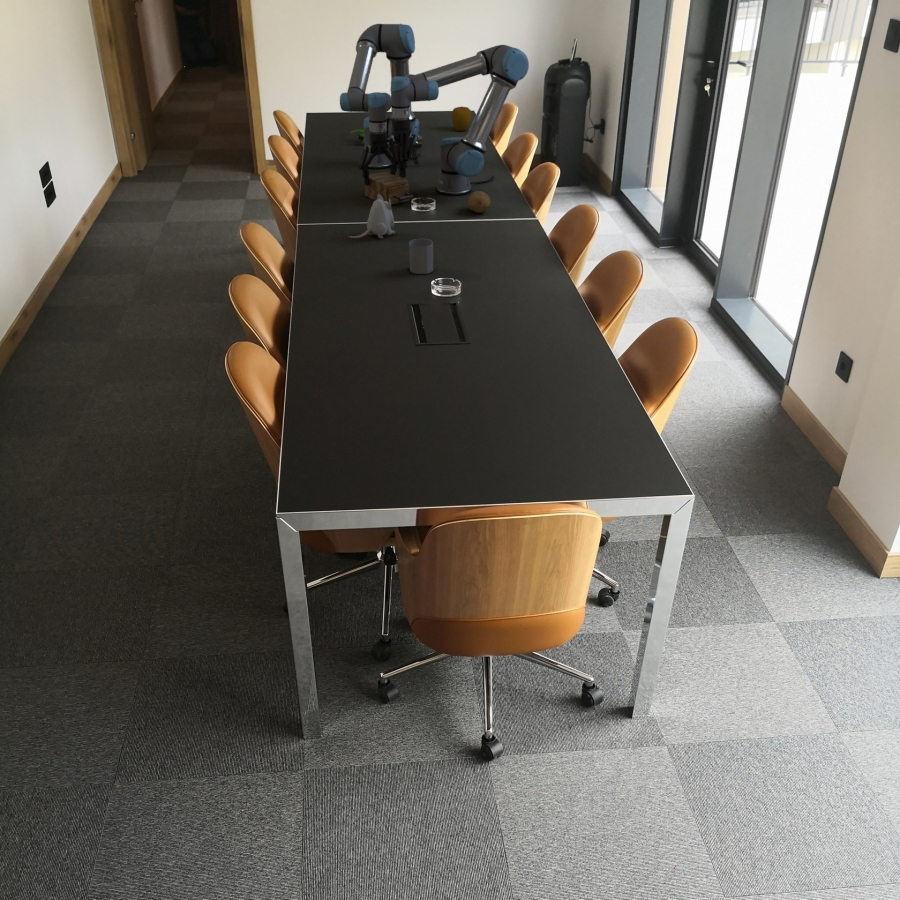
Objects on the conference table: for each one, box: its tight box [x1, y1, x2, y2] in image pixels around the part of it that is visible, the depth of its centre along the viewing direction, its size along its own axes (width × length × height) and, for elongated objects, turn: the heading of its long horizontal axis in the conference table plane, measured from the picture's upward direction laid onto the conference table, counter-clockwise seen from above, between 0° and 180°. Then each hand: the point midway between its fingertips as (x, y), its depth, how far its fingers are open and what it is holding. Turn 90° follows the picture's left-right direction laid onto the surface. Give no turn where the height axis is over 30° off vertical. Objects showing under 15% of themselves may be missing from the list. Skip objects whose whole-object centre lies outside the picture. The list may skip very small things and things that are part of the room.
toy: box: [347, 194, 396, 240], centre depth 332 cm, size 9×24×15 cm, turn 137°
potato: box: [467, 190, 491, 214], centre depth 363 cm, size 10×14×8 cm
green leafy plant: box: [348, 128, 365, 146], centre depth 466 cm, size 6×13×30 cm
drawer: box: [388, 183, 414, 205], centre depth 375 cm, size 22×10×7 cm, turn 36°
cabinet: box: [364, 171, 409, 206], centre depth 378 cm, size 18×11×9 cm, turn 36°
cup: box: [408, 237, 434, 275], centre depth 305 cm, size 8×8×10 cm
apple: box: [451, 105, 472, 132], centre depth 487 cm, size 11×11×13 cm
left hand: (380, 182), depth 381 cm, fingers open, 13 cm apart
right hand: (402, 176), depth 365 cm, fingers closed
